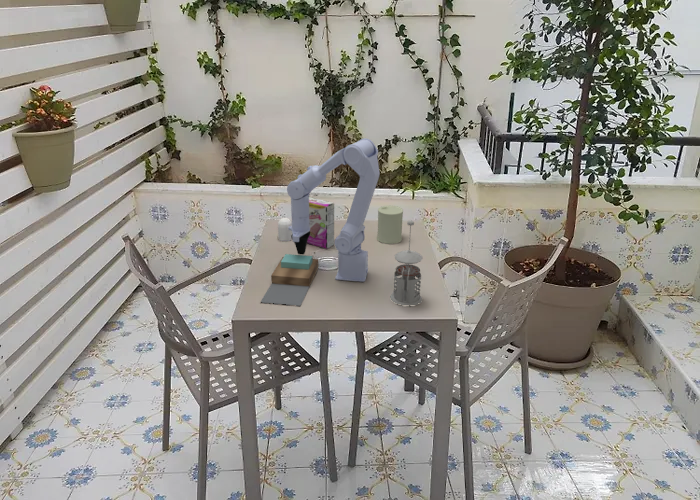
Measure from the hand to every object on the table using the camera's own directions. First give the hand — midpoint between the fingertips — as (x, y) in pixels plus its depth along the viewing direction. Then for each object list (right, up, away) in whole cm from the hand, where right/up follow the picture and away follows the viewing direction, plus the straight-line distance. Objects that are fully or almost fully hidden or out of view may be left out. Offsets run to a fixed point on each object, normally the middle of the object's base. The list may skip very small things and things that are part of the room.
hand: (301, 253), depth 189 cm
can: (+31, +5, +22) cm, 38 cm away
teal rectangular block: (-1, -4, -5) cm, 6 cm away
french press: (+33, -14, -20) cm, 41 cm away
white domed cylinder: (-8, +5, +22) cm, 24 cm away
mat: (-3, -12, -18) cm, 22 cm away
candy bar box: (+5, +3, +17) cm, 18 cm away
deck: (-1, -7, -6) cm, 9 cm away
